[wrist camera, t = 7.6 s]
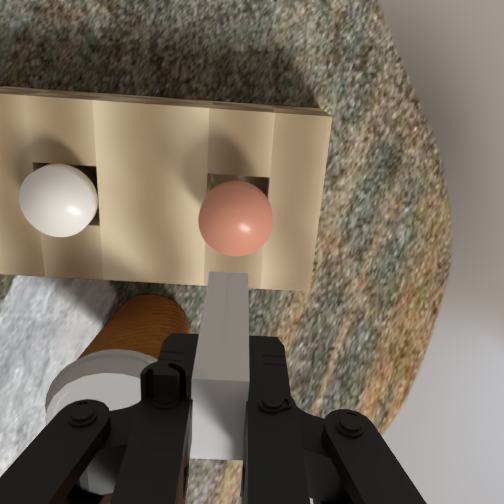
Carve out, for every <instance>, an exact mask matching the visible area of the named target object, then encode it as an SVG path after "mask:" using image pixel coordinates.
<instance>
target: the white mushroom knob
mask: <svg viewBox="0 0 504 504" xmlns="http://www.w3.org/2000/svg"><path fill="white" fill-rule="evenodd" d="M97 192H98V184H97V176H96V175H95V174H94V172H92V171H91V170H90V169H88V168H85V167H72V166H70V165H66V164H60V163H55V164H49V165H46V166H43V167H41V168H39V169H38V170H36V171H34V172H32V173H31V174H29V175H28V176H27V177H26V178H25V180H24V181H23V183H22V185H21V187H20V191H19V203H20V207H21V210H22V212H23V215H24V216H25V218H26V219H27V220H28V222H29V223H30V224H31V225H32V226H33V227H35V228H36V229H37V230H39V231H40V232H42V233H44V234H47V235H50V236H54V237H69V236H72V235H75V234H77V233H79V232H80V231H82V230H83V229H84V228H85V227H86V226H87V225H88V224H89V223H90V222H91V220H92V219H93V218H94V216H95V214H96V212H97V208H98V196H97Z"/></svg>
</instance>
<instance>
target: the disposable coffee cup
mask: <svg viewBox="0 0 504 504" xmlns="http://www.w3.org/2000/svg"><path fill="white" fill-rule="evenodd" d="M171 333H187V334H189V324H188V319H187V317H186V315H185V313H184V311H183V310H182V309H181V308H180V307H179V306H178V305H177V304H176V303H175V302H173V301H172V300H170V299H168V298H166V297H163V296H159V295H153V294H146V295H139V296H136V297H133V298H131V299H129V300H128V301H127V302H125V303H124V304H123V305H122V306H121V307H120V308H119V309H118V311H117V312H116V313H115V314H114V316H113V317H112V318H111V319H110V320H109V321H108V323H107V324H106V325H105V326H104V328H103V329H102V330H101V331H100V332H99V334H98V335H97V336H96V337H95V338H94V340H93V341H92V342H91V343H90V344H89V346H88V347H87V348H86V349H85V351H84V352H83V353H82V354H81V355H80V357H79V358H78V359H77V360H76V361H74V362H73V363H71V364H69V365H68V366H66V367H65V368H64V369H63V370H62V371H61V372H60V373H59V374H58V375H57V377H56V378H55V379H54V380H53V382H52V384H51V386H50V388H49V391H48V393H47V397H46V404H45V408H46V418H45V420H46V425H47V424H48V423H49V422H50V421H51V420H52V419H53V418H54V416H55V415H56V414H57V413H58V412H59V411H60V410H61V409H63V408H64V407H65V406H66V405H68V404H70V403H73V402H75V401H78V400H84V399H93V400H98V401H101V402H103V403H105V404H106V405H107V407H108V408H109V411H112V410H117V409H123V408H126V407H130V406H132V405H134V404H136V403H138V402H139V401H141V387H140V373H141V372H142V370H143V369H144V368H145V367H146V366H148V365H149V364H151V363H154V362H157V361H158V357H159V353H160V350H161V346H162V343H163V341H164V340H165V339H166V338H167V337H168V336H169V335H170V334H171Z"/></svg>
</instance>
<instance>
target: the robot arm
mask: <svg viewBox="0 0 504 504" xmlns="http://www.w3.org/2000/svg"><path fill="white" fill-rule="evenodd" d="M140 387H141V401H139V402H138V403H136V404H134V405H132V406H130V407H126V408H123V409H117V410H112V411H109V408H108V407H107V405H106V404H105V403H103V402H101V401H98V400H93V399H84V400H78V401H75V402H73V403H70V404H68V405H66V406H65V407H64V408H63V409H61V410H60V411H59V412H58V413H57V414H56V415H55V416H54V418H53V419H52V420H51V421H50V422H49V423H48V424H47V425H46V427H45V428H44V429H43V430H42V431H41V432H40V433H39V434H38V436H37V437H36V438H35V439H34V440H33V441H32V442H31V443H30V445H29V446H28V447H27V448H26V449H25V450H24V451H23V452H22V454H21V455H20V456H19V457H18V458H17V459H16V460H15V461H14V463H13V464H12V465H11V466H10V467H9V468H8V469H7V470H6V472H5V473H4V474H3V475H2V476H1V477H0V504H109V502H110V504H185V500H186V492H187V485H188V477H189V458H199V459H224V460H243V467H242V480H241V492H240V496H241V497H242V503H241V504H310V498H313V503H314V504H426V502H425V501H424V499H423V498H422V496H421V495H420V493H419V492H418V490H417V489H416V487H415V486H414V484H413V483H412V481H411V480H410V478H409V477H408V475H407V474H406V472H405V471H404V469H403V468H402V467H401V465H400V463H399V462H398V460H397V459H396V457H395V456H394V454H393V453H392V451H391V450H390V448H389V447H388V445H387V444H386V442H385V441H384V439H383V438H382V436H381V435H380V433H379V432H378V430H377V429H376V427H375V426H374V424H373V423H372V422H371V421H370V420H369V419H368V418H367V417H366V416H364V415H362V414H361V413H359V412H356V411H352V410H349V409H338V410H335V411H332V412H330V413H329V414H328V415H327V416H326V418H325V419H323V418H320V417H316V416H313V415H311V414H308V413H306V412H304V411H302V410H301V409H300V408H298V407H297V406H296V404H295V402H294V399H292V397H291V393H290V386H289V378H288V371H287V364H286V358H285V349H284V345H283V344H282V343H281V342H280V340H279V339H278V338H277V337H267V336H249V306H248V273H230V272H212V271H210V272H209V278H208V284H207V290H206V296H205V302H204V308H203V314H202V320H201V326H200V332H199V334H187V333H171V334H170V335H169V336H168V337H167V338H166V339H165V340H164V341H163V343H162V346H161V350H160V353H159V357H158V361H157V362H154V363H151V364H149V365H148V366H146V367H145V368H144V369H143V370H142V372H141V373H140ZM309 497H310V498H309Z"/></svg>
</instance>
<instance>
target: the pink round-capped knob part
mask: <svg viewBox="0 0 504 504" xmlns="http://www.w3.org/2000/svg"><path fill="white" fill-rule="evenodd" d="M198 225H199V230H200V233H201V235H202V237H203V239H204V240H205V242H206V243H207V244H208V245H209V246H210V247H211V248H212V249H214V250H215V251H217V252H219V253H221V254H224V255H228V256H244V255H248V254H251V253H253V252H255V251H257V250H258V249H259V248H261V247H262V246H263V245H264V244H265V242H266V241H267V240H268V238H269V236H270V234H271V231H272V226H273V216H272V210H271V206H270V203H269V200H268V199H267V197H266V195H265V194H264V193H263V192H262V191H261V190H260V189H259V188H257V187H256V186H254V185H253V184H250V183H248V182H244V181H227V182H224V183H221V184H219V185H217V186H215V187H214V188H213V189H211V190H210V191H209V192H208V194H207V195H206V196H205V198H204V200H203V202H202V205H201V208H200V212H199V217H198Z"/></svg>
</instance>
